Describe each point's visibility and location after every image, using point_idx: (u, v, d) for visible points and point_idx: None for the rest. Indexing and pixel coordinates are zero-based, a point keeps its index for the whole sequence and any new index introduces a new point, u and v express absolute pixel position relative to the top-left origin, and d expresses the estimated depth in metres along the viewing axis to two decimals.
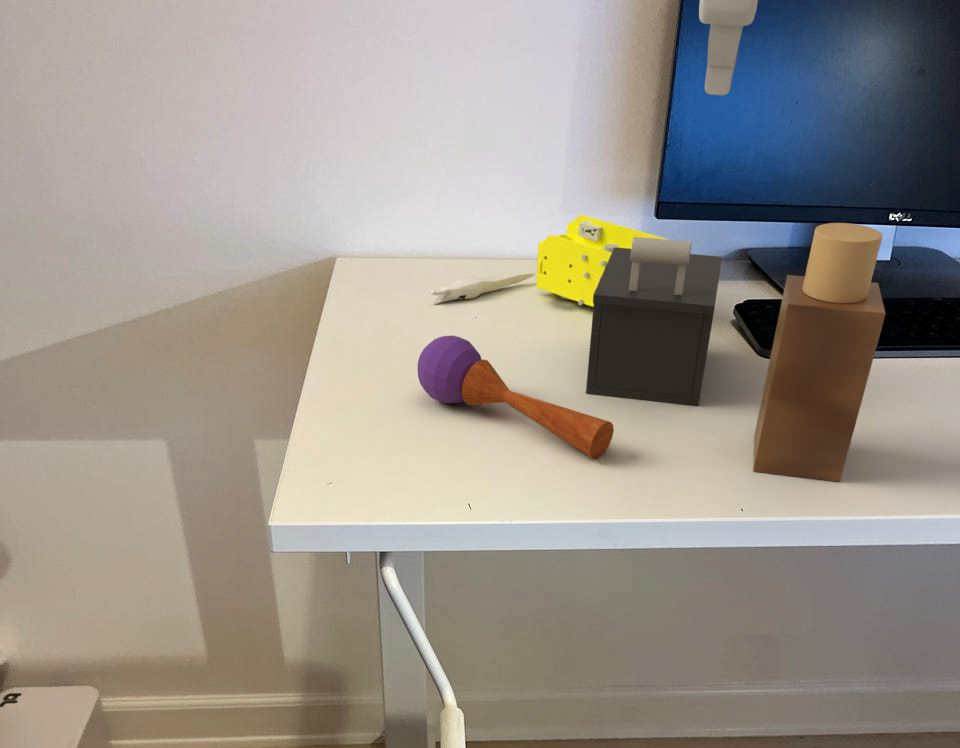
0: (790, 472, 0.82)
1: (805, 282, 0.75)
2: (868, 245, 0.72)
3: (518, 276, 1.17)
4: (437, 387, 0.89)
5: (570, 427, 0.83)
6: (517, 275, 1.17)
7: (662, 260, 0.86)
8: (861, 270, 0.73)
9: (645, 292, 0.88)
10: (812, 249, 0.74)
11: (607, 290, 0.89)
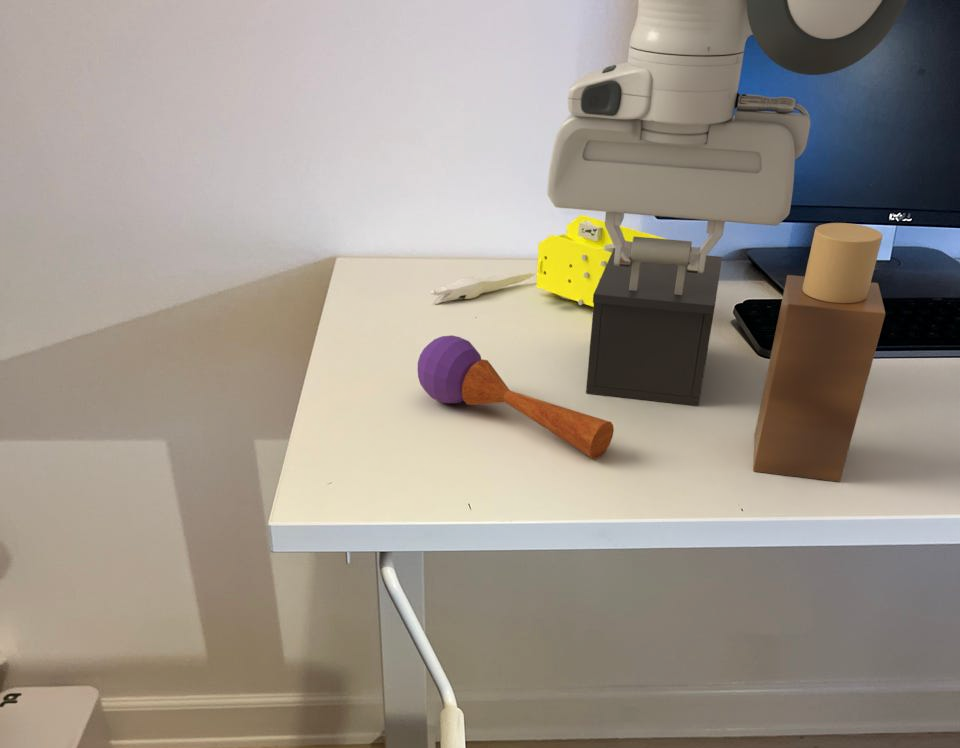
0: (790, 472, 0.82)
1: (805, 282, 0.75)
2: (868, 245, 0.72)
3: (518, 276, 1.17)
4: (437, 387, 0.89)
5: (570, 427, 0.83)
6: (517, 275, 1.17)
7: (662, 259, 0.86)
8: (861, 270, 0.73)
9: (645, 292, 0.88)
10: (812, 249, 0.74)
11: (608, 289, 0.89)
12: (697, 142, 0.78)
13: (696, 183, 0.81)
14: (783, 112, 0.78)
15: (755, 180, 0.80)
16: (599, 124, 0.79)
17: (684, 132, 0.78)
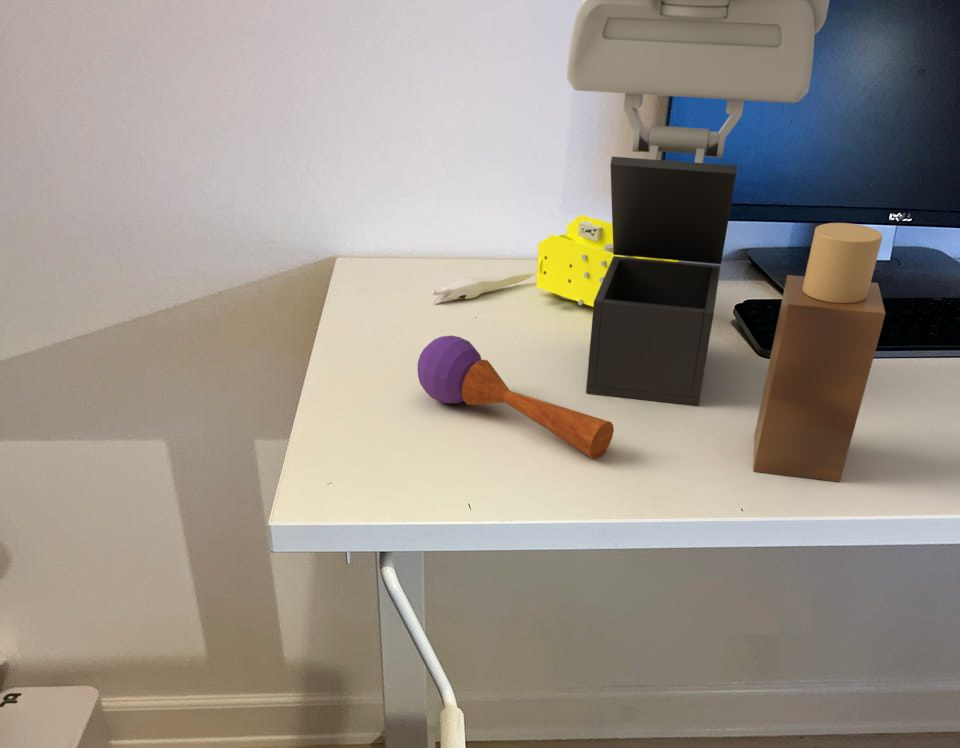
0: (790, 472, 0.82)
1: (805, 282, 0.75)
2: (868, 245, 0.72)
3: (518, 276, 1.17)
4: (437, 387, 0.89)
5: (570, 427, 0.83)
6: (517, 275, 1.17)
7: (681, 137, 0.86)
8: (861, 270, 0.73)
9: None
10: (812, 249, 0.74)
11: None
12: (717, 15, 0.79)
13: (716, 60, 0.81)
14: None
15: (775, 55, 0.80)
16: None
17: (705, 4, 0.78)
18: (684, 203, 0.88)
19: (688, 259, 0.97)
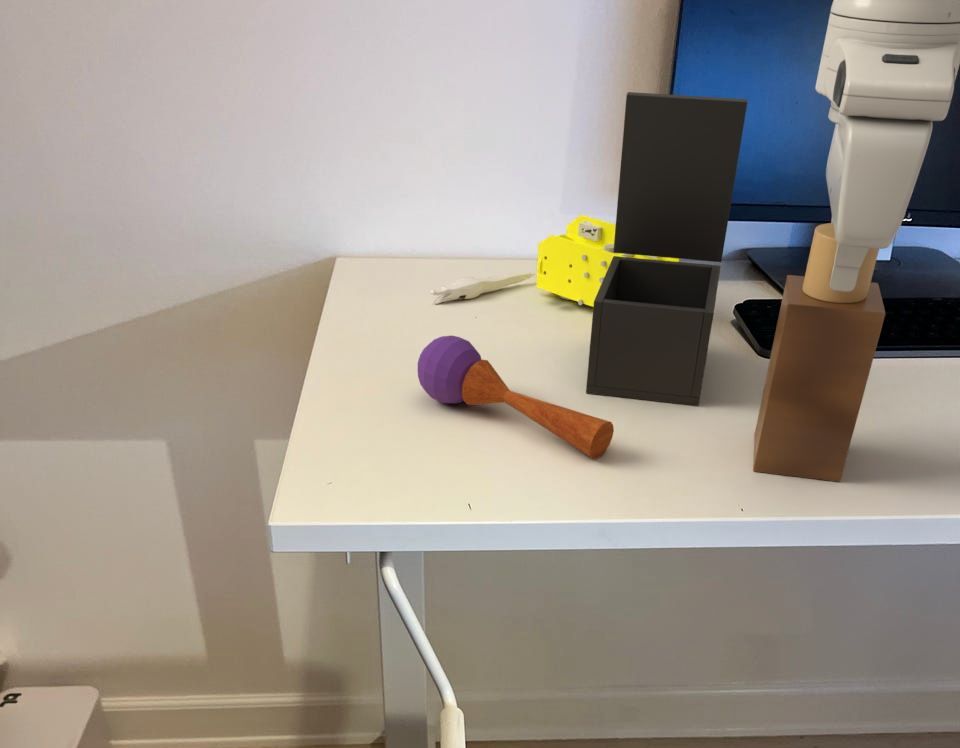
0: (790, 472, 0.82)
1: (805, 282, 0.75)
2: None
3: (518, 276, 1.17)
4: (437, 387, 0.89)
5: (570, 427, 0.83)
6: (517, 275, 1.17)
7: None
8: (861, 270, 0.73)
9: None
10: (812, 249, 0.74)
11: None
12: None
13: None
14: None
15: None
16: None
17: None
18: (693, 156, 0.91)
19: (688, 256, 0.97)
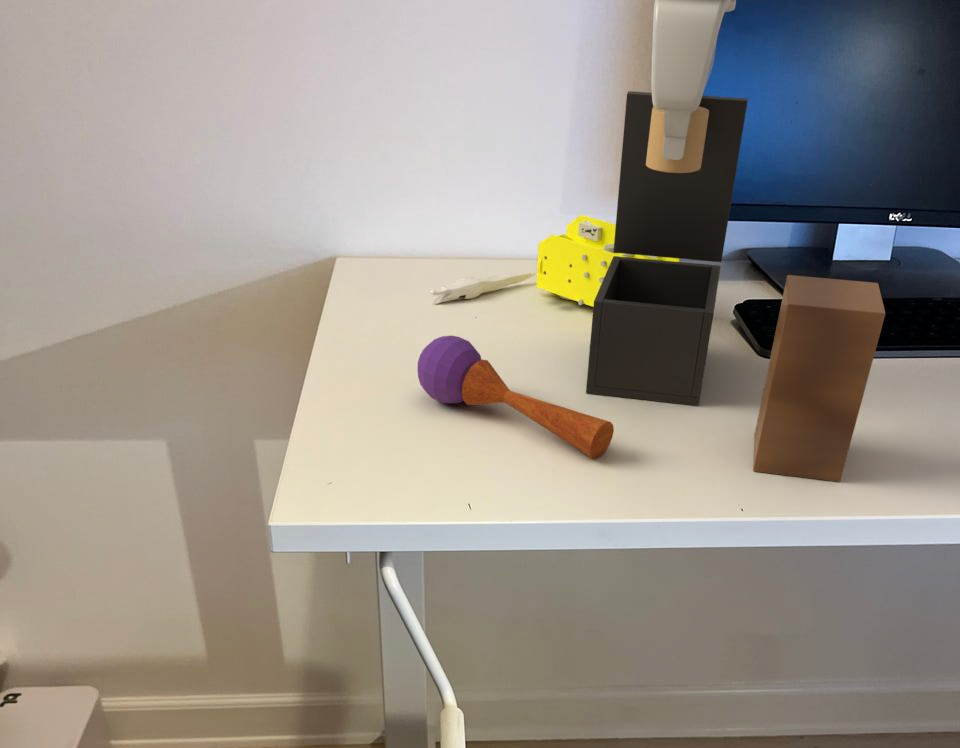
0: (790, 472, 0.82)
1: (647, 156, 0.87)
2: (694, 119, 0.83)
3: (518, 276, 1.17)
4: (437, 387, 0.89)
5: (570, 427, 0.83)
6: (517, 275, 1.17)
7: None
8: (690, 142, 0.84)
9: None
10: (650, 125, 0.85)
11: None
12: None
13: None
14: None
15: None
16: (728, 2, 0.74)
17: None
18: None
19: (688, 256, 0.97)
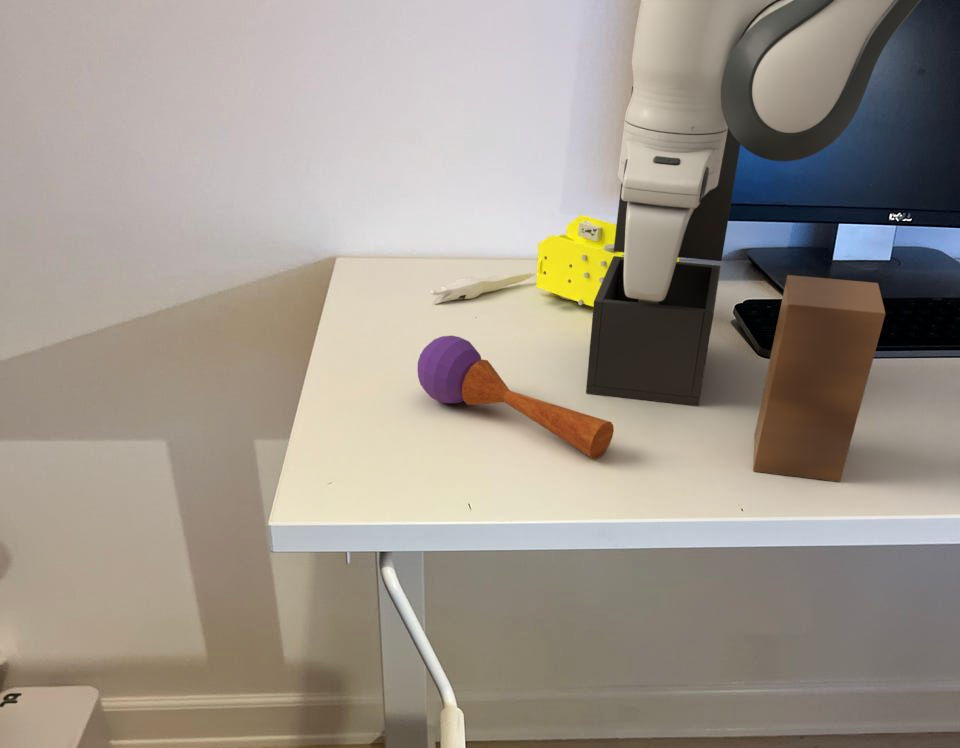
0: (790, 472, 0.82)
1: None
2: None
3: (518, 276, 1.17)
4: (437, 387, 0.89)
5: (570, 427, 0.83)
6: (517, 275, 1.17)
7: None
8: None
9: None
10: None
11: None
12: None
13: None
14: None
15: None
16: (692, 209, 0.83)
17: None
18: None
19: (688, 254, 0.97)
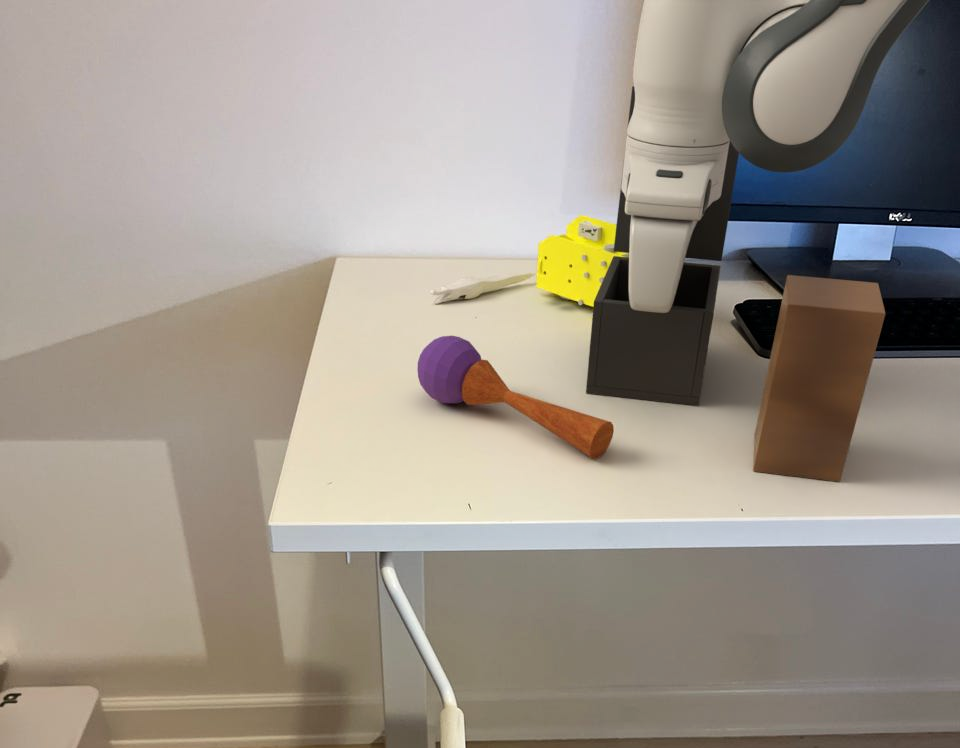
0: (790, 472, 0.82)
1: None
2: None
3: (518, 276, 1.17)
4: (437, 387, 0.89)
5: (570, 427, 0.83)
6: (517, 275, 1.17)
7: None
8: None
9: None
10: None
11: None
12: None
13: None
14: None
15: None
16: (696, 221, 0.84)
17: None
18: None
19: (688, 254, 0.97)
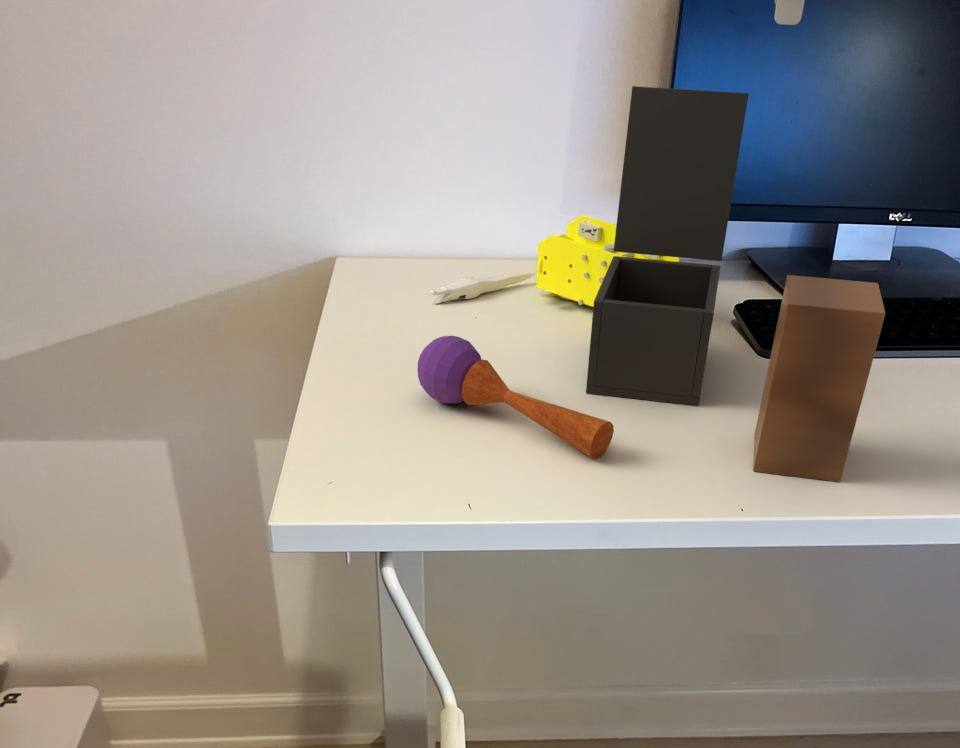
0: (790, 472, 0.82)
1: None
2: None
3: (518, 276, 1.17)
4: (437, 387, 0.89)
5: (570, 427, 0.83)
6: (517, 275, 1.17)
7: None
8: None
9: None
10: None
11: None
12: None
13: None
14: None
15: None
16: None
17: None
18: (695, 148, 0.93)
19: (688, 254, 0.97)
